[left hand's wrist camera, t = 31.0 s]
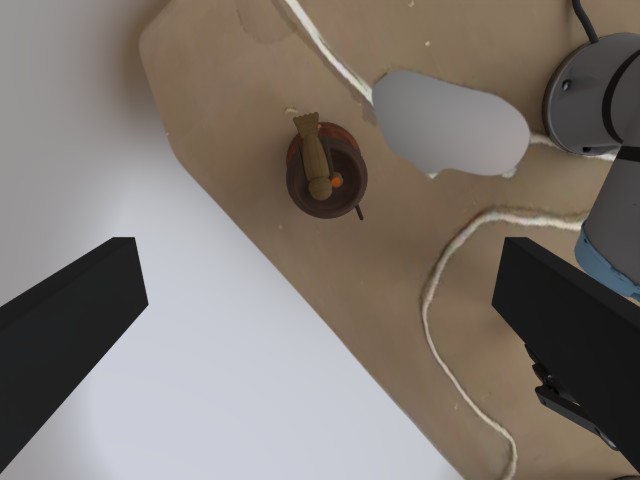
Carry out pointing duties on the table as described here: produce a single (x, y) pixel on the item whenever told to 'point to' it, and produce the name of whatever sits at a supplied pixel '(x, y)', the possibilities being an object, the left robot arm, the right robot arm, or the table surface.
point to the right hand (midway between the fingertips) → (571, 330)
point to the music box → (325, 169)
